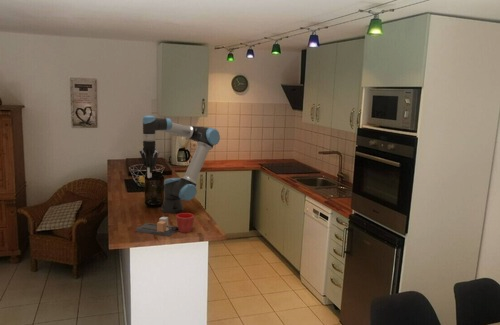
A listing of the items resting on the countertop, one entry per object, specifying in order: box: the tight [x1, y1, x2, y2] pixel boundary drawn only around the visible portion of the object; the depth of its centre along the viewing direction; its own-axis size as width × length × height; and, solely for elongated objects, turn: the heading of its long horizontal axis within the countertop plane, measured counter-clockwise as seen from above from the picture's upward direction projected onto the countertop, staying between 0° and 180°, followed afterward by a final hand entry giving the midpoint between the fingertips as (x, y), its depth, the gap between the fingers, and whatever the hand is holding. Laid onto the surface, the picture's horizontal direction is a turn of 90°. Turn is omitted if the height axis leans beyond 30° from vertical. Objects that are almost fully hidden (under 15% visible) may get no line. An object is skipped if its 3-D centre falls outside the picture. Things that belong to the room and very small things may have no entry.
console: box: [135, 222, 179, 237], centre depth 254 cm, size 12×22×2 cm, turn 72°
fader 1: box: [158, 216, 169, 226], centre depth 256 cm, size 4×4×5 cm
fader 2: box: [156, 221, 166, 232], centre depth 248 cm, size 4×4×5 cm
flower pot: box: [175, 212, 195, 233], centre depth 255 cm, size 11×11×10 cm
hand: (149, 177), depth 265 cm, fingers closed
